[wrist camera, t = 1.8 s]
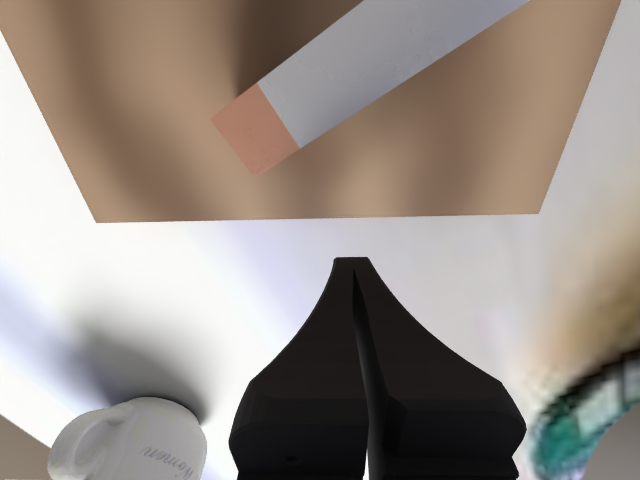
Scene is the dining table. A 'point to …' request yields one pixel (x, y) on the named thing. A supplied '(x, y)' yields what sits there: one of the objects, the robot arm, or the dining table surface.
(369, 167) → the board
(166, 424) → the teacup
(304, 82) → the tong arm
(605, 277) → the dining table surface
